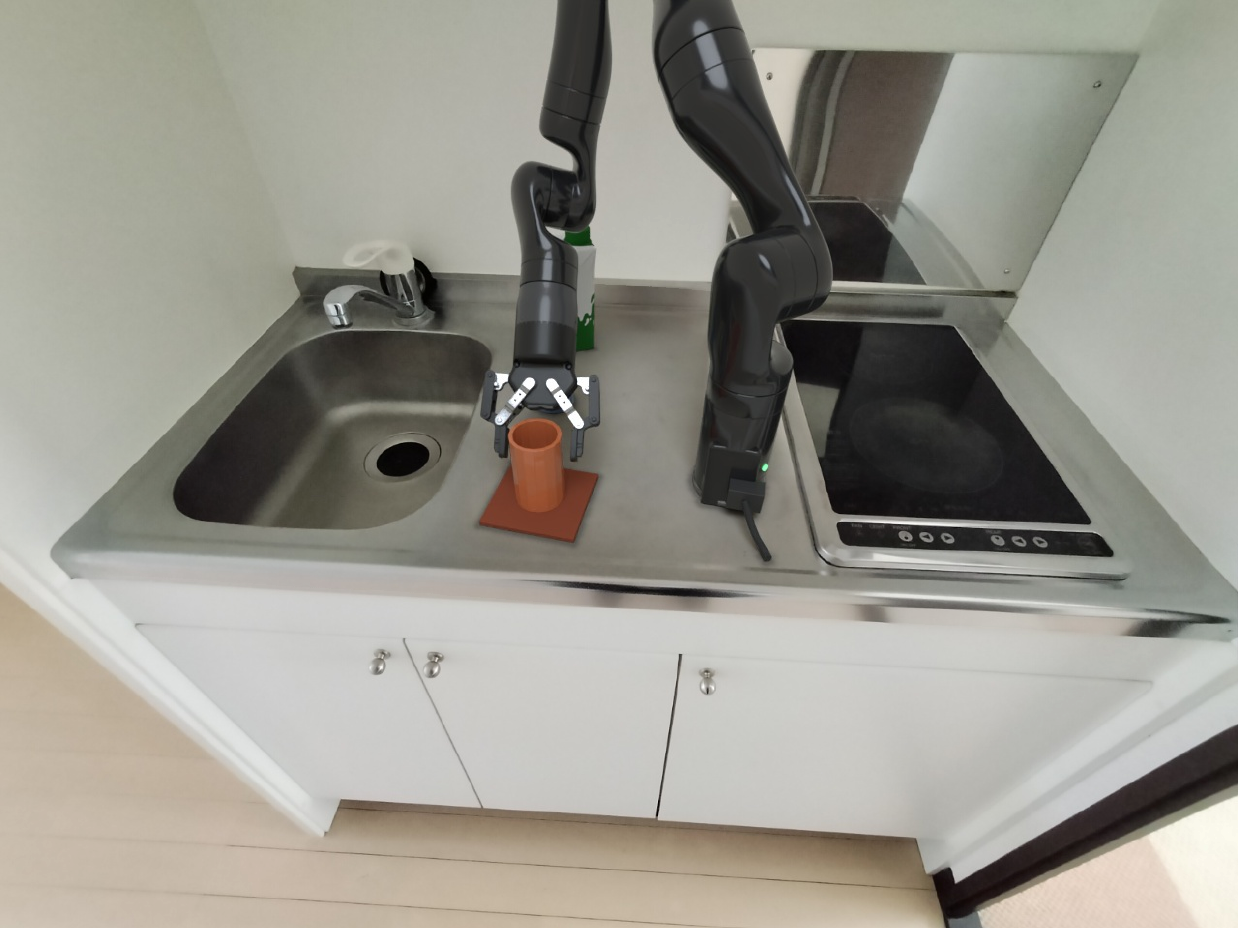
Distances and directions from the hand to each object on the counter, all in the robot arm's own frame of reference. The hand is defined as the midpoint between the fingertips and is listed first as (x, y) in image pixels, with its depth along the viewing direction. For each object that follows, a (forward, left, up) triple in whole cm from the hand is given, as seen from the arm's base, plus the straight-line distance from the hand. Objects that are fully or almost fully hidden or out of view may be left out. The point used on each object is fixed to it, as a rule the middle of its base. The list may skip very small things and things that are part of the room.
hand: (538, 459), depth 72 cm
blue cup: (+21, +5, -7) cm, 23 cm away
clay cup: (0, 0, -6) cm, 6 cm away
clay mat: (0, 0, -7) cm, 7 cm away
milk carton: (+39, +8, -7) cm, 41 cm away
